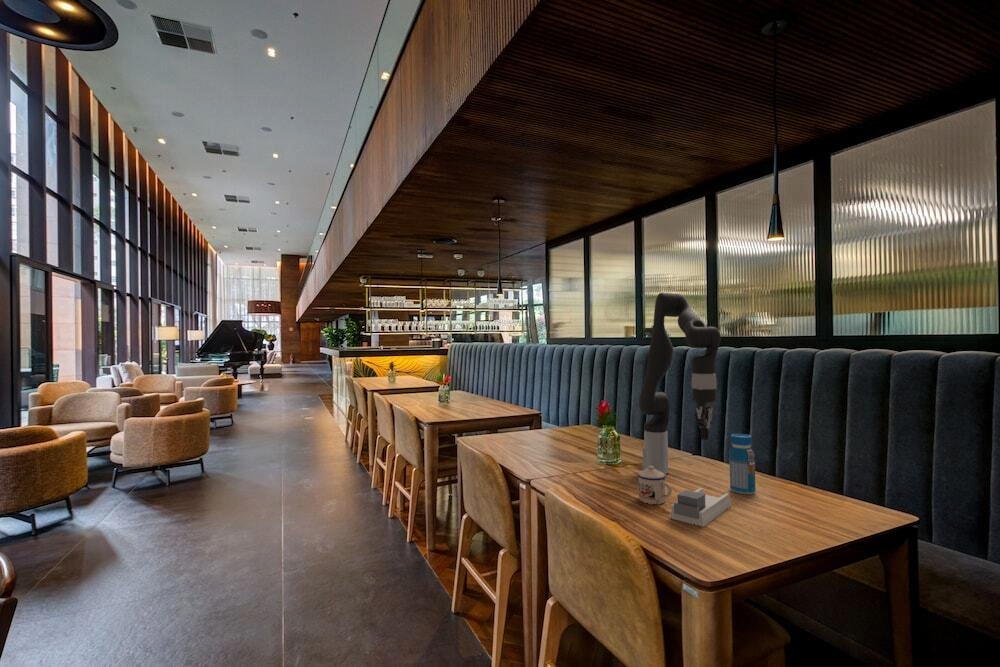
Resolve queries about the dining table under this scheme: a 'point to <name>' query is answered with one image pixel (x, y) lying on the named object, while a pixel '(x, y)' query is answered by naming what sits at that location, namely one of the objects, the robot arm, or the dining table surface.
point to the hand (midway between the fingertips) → (705, 439)
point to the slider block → (692, 499)
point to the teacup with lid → (652, 486)
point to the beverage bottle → (742, 464)
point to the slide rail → (706, 515)
